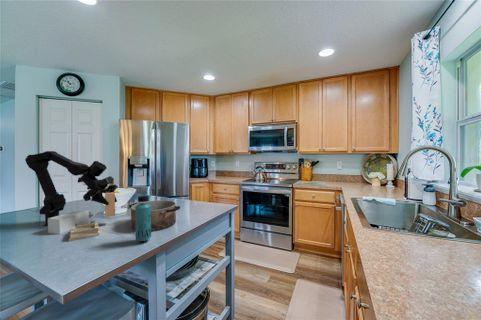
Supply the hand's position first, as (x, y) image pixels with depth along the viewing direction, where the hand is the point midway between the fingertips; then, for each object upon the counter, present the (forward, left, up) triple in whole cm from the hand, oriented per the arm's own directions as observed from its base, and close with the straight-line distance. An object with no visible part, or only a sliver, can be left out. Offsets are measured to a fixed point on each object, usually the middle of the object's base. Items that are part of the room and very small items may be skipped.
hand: (112, 203), depth 108 cm
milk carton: (-2, -24, -8) cm, 25 cm away
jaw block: (-1, -1, -7) cm, 7 cm away
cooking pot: (+12, +19, -12) cm, 25 cm away
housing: (+6, -12, -12) cm, 18 cm away
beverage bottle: (+32, +9, -12) cm, 36 cm away
